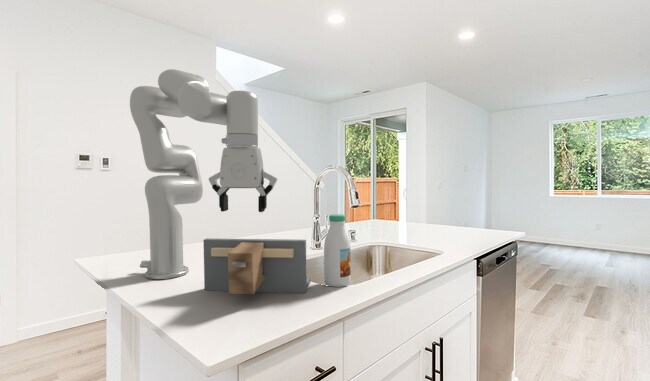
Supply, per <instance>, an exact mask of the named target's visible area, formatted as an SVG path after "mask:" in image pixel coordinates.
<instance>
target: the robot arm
mask: <svg viewBox="0 0 650 381" xmlns="http://www.w3.org/2000/svg"><path fill="white" fill-rule="evenodd" d="M258 103H259V101H258V97H257V95H256V94H255V93H253V92H251V91H249V90H233V91H230V92H229V93H228V94H227V95H223V94H219V93H215V92H210V86H209V84H208V81H207V80H206V79H205V78H204V77H203V76H201V75H198V74H194V73H189V72H186V71H182V70H179V69H175V68H174V69H173V68H172V69H166V70H164V71H162V72H160V74H159V76H158V78H157V87H156V86H150V85H140V86H137V87H135V88H134V89H133V90H132V91H131V93H130V97H129V108H130V109H129V110H130V113H131V117H132V120H133V121H134V125H135V127H136V128H137V130H138V134H139V138H140V144H141V148H142V155H143V160H144V163H145V166H146V168H147V170H148V171H150V172H152V173H156V174H157V173H158V174H164V175H155V176H152V177H150V178H149V179H148V180H147V181H146V182H145V185H144V194H145V198H146V203H147V209H148V221H149V253H150V255H149V256H150V259H149V260H141V262H140V265H139V268H141V269H143V268H146V271H145V273H144V275H145V278H147V279H149V280H167V279H173V278H179V277H182V276H184V275H186V274H188V273H189V266H186V265H184V242H183V241H184V240H183V239H184V238H183V234H184V233H183V217H182V215H181V213H180V211H179V210H178V209H177V207H176V205H177V206H178V205H189V204H196V203H198V202H199V201H200V200H201V199H202V197H203V195H204V194H203V193H204V190H203V189H204V187H203V182H202V176H201V173H200V167H199V162H198V159H197V155H196V153H195V151H194V150H193V149H192V148H191V147H189V146H187V145H184V144H174V143H172V142H171V138H170V133H169V130H168V129H167V127H166V125H165V124H164V122H163V121H162V120H160V119H159V117H157V115H158V116H165V117H173V118H179V119H180V118H185V117H188V118H190V119H192V120H194V121H197V122H200V123H205V124H206V123H207V124H213V125H214V124H215V125H220V126H226V135H225V137H223V138H221V144H222V145H224V144H225V146H226V147H223V149H222V154H221V157H220V158H221V159H220V169H219V172H217V173H215V174H213V175H212V176H210V177H209V178H208V181H209V183H210V185H211V188H212V189H213V190H214V191H215V193H216V194H217V195H218V203H219V204H218V205H219V206H218V207H219V208H220V212H226V211H228V210H229V195H228V192H229V190H230V189H255V190H257V192H258V193H259V196H258V199H257V200H258V204H257V205H258V212H259V213H264V212H265V210H266V209H267V204H268V203H267V197H268V195H269V193H270V192H272V190H273V189H274V187H275V186H276V184H277V182H278V178H277V177H276V176H273V175H272V174H270V173H268V172H266V171H264V170H265V169H264V162H263V156H262V150H261V148H259V132H258V131H259V125H258V124H259V118H258V117H259V114H258V113H259V107H258ZM165 174H168V175H165ZM171 174H172V175H171ZM174 174H178V175H174ZM265 179H266V180H268V181H269V183H268V185H267V186H266V187H265V186H264V183H265ZM218 180H219V183H218ZM219 184H220V185H219Z"/></svg>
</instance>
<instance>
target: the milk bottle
mask: <svg viewBox="0 0 650 381" xmlns="http://www.w3.org/2000/svg"><path fill="white" fill-rule="evenodd" d="M328 220H329V221H328V222H329V229H328V231H327V232H326V233H327V234H326V236H325V238H324V245H323V248H324V249H323V282H324V284H325V285H326V286H329V287H333V288H341V287H347V286H349V285H350V284H351V281H352V278H351V276H352V275H351V273H352V271H351V270H352V265H351V263H352V261H351V251H352V250H351V240H350V237H349V235H348V233H347V230H346V226H345V223H346V215H345V214H340V213H338V214H336V213H335V214H333V213H332V214H329V217H328Z"/></svg>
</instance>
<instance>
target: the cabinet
mask: <svg viewBox="0 0 650 381" xmlns="http://www.w3.org/2000/svg"><path fill="white" fill-rule="evenodd" d="M263 249H264V243H259V242H242V243H240V244H239V245H238V246H236V247H235V248H234V249H232V250H231V251H230V252H228V274H229V291H228V292H229V294H232V295H233V294H236V295H238V294H239V295H255V293H257V292H256V290H257V289H258V288H259V286H260V285H261V283H262V282H263V281H264V279H265V273H263V271H262V250H263Z"/></svg>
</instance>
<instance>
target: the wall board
mask: <svg viewBox="0 0 650 381" xmlns="http://www.w3.org/2000/svg"><path fill="white" fill-rule="evenodd" d="M242 242H259V243H264V249H263V250H262V271H263V273H265V279H264V281H263V282H262V283H261V285H260V286H259V288H258V289H257V290H256V292H255V293H281V294H282V293H283V294H284V293H286V294H289V293H290V294H291V293H292V294H306V293H307V290H308V288H309V286H310V283H311V279H312V278H311V277H307V239H286V238H285V239H284V238H283V239H282V238H277V239H276V238H274V239H273V238H213V237H212V238H210V237H209V238H208V237H206V238H205V239H203V272H204V273H203V279H204V282H203V283H204V284H203V285H204V291H210V290H211V291H212V292H213V291H215V292H219V291H220V292H224V291H225V292H229V274H228V252H230V251H231V250H232V249H234V248H235V247H236V246H238V245H239V244H240V243H242Z"/></svg>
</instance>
